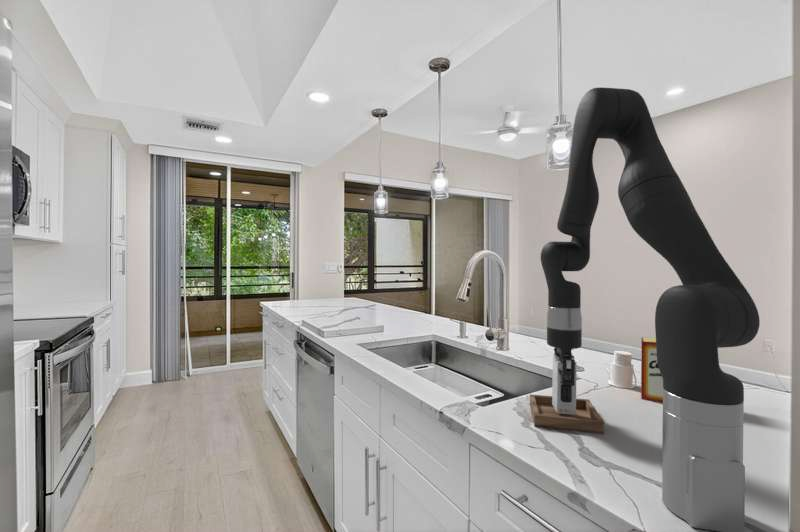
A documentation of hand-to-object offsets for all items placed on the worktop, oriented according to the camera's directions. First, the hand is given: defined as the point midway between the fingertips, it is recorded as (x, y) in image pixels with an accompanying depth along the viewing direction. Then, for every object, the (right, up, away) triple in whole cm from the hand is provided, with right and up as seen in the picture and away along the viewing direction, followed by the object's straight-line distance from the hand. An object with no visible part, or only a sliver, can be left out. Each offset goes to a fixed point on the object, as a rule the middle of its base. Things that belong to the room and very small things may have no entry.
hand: (563, 396), depth 88 cm
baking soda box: (+32, -5, +13) cm, 35 cm away
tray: (0, -5, 0) cm, 5 cm away
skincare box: (0, -3, 0) cm, 3 cm away
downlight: (+28, -5, +25) cm, 38 cm away
